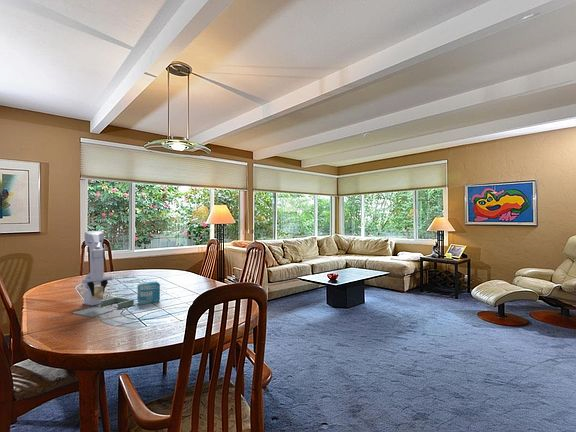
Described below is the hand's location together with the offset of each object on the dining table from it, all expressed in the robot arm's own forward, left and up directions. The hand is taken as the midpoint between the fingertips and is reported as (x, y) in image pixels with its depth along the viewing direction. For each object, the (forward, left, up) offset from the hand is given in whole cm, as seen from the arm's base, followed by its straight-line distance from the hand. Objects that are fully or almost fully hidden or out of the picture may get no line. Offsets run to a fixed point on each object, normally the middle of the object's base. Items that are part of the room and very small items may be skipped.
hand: (97, 294), depth 174 cm
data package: (+12, +24, -9) cm, 29 cm away
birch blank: (0, 0, -2) cm, 2 cm away
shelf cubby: (0, +11, -9) cm, 14 cm away
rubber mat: (0, -3, -9) cm, 9 cm away
